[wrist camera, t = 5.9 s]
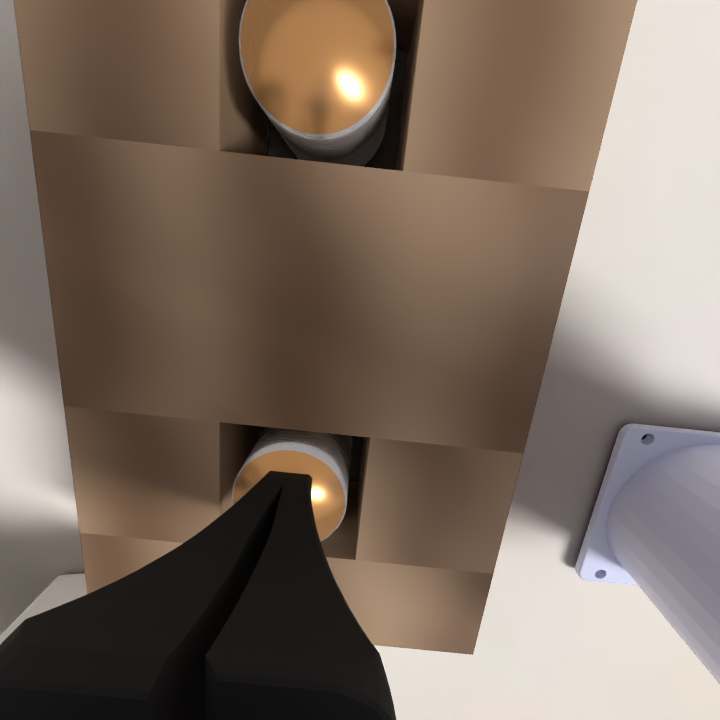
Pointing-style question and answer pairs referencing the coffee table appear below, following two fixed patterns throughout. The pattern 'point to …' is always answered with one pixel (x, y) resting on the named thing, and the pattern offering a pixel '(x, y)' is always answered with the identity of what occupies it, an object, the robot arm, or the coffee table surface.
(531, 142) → the socket block
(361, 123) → the peg near
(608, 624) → the coffee table surface
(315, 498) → the peg far
